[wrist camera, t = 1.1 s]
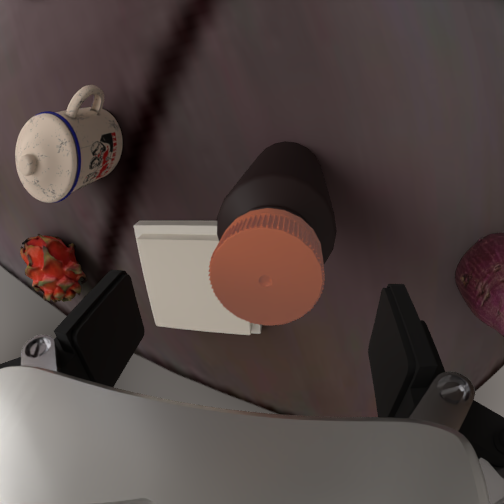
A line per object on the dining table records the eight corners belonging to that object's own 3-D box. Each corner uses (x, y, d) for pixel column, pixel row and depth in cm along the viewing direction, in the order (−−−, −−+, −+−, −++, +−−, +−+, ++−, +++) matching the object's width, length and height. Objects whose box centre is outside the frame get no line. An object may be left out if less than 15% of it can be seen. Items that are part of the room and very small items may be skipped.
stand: (258, 221, 34) (255, 232, 31) (262, 326, 40) (258, 341, 37) (139, 220, 36) (127, 230, 33) (159, 317, 42) (151, 331, 39)
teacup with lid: (107, 193, 35) (44, 232, 24) (57, 156, 33) (-10, 183, 23) (151, 104, 29) (84, 111, 19) (93, 70, 28) (20, 70, 18)
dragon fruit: (104, 279, 43) (54, 229, 42) (95, 260, 35) (39, 203, 35) (67, 322, 39) (18, 268, 39) (50, 311, 31) (-3, 247, 31)
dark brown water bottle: (250, 142, 30) (173, 205, 12) (320, 140, 29) (351, 200, 11) (256, 207, 33) (200, 338, 15) (322, 206, 32) (341, 342, 14)
